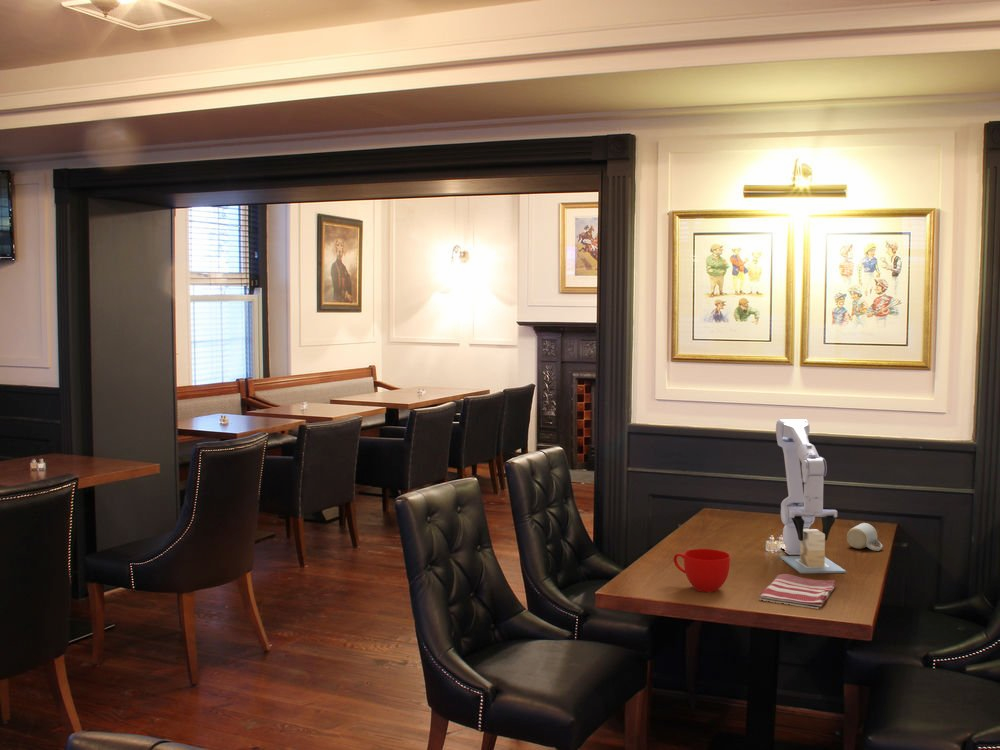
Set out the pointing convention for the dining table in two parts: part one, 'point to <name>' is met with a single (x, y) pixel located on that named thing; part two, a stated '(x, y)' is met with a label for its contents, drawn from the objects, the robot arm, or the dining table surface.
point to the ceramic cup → (705, 568)
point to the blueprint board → (803, 568)
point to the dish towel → (798, 591)
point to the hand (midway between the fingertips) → (812, 539)
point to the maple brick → (812, 557)
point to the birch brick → (813, 539)
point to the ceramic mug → (863, 537)
